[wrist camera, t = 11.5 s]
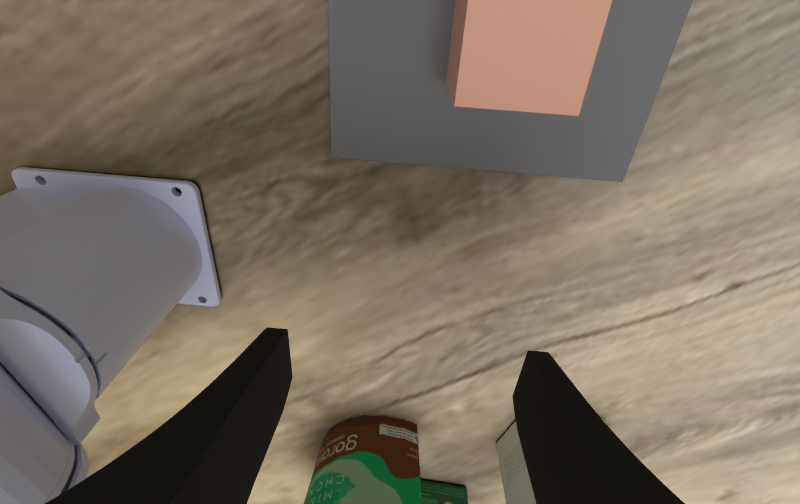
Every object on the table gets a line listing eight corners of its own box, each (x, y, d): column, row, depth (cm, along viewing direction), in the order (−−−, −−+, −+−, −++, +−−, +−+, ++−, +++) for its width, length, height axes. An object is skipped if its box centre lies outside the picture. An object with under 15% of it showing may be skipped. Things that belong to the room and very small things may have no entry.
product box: (492, 442, 31) (511, 551, 24) (534, 394, 28) (567, 505, 21) (560, 461, 32) (595, 572, 25) (608, 418, 29) (660, 530, 22)
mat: (333, 153, 19) (331, 157, 19) (327, -201, 13) (324, -209, 13) (617, 177, 19) (622, 181, 19) (745, -166, 13) (759, -173, 13)
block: (445, 83, 17) (454, 106, 13) (458, -31, 15) (474, -50, 10) (538, 90, 17) (578, 115, 13) (564, -23, 15) (623, -39, 10)
